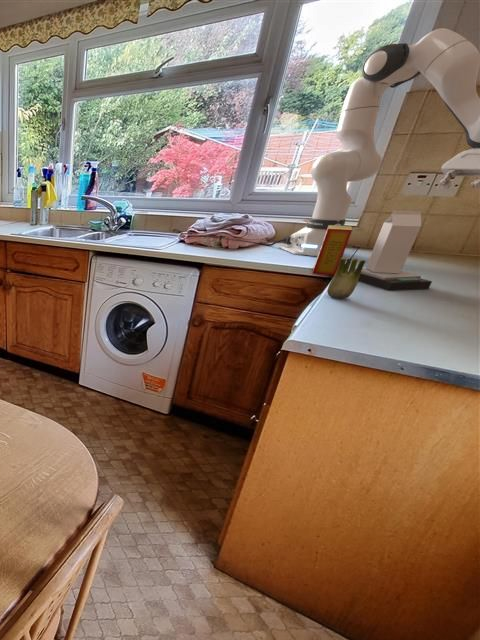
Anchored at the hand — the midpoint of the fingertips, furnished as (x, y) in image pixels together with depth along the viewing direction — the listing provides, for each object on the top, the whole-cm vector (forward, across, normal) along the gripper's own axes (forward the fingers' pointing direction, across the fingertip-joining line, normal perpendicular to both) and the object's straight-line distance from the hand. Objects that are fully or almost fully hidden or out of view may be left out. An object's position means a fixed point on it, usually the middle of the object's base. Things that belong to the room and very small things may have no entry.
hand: (457, 185), depth 132 cm
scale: (+28, +2, +13) cm, 31 cm away
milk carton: (+26, -2, +11) cm, 29 cm away
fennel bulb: (+48, +15, -6) cm, 51 cm away
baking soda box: (+34, -16, +8) cm, 38 cm away
